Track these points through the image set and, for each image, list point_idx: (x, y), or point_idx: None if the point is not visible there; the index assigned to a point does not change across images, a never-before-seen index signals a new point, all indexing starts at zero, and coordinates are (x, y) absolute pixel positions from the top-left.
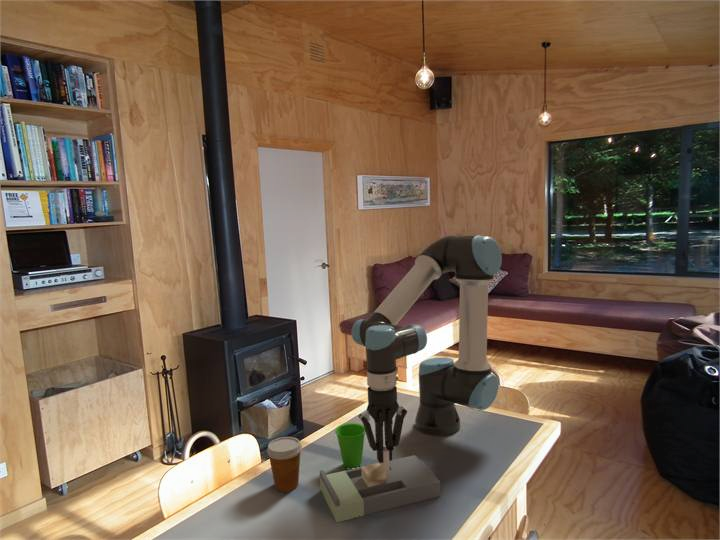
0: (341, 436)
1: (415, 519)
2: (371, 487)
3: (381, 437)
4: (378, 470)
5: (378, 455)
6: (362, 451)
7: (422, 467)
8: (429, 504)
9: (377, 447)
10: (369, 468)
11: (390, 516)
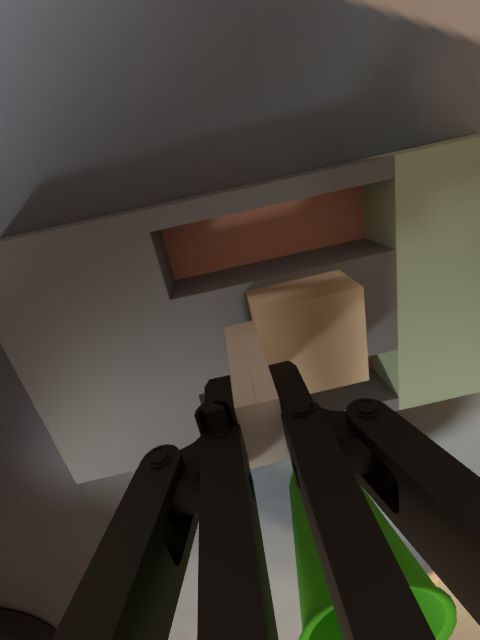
0: (441, 590)
1: (139, 70)
2: (324, 265)
3: (333, 506)
4: (291, 332)
5: (306, 392)
6: (298, 520)
7: (46, 389)
8: (58, 181)
9: (336, 429)
10: (333, 358)
11: (251, 125)
